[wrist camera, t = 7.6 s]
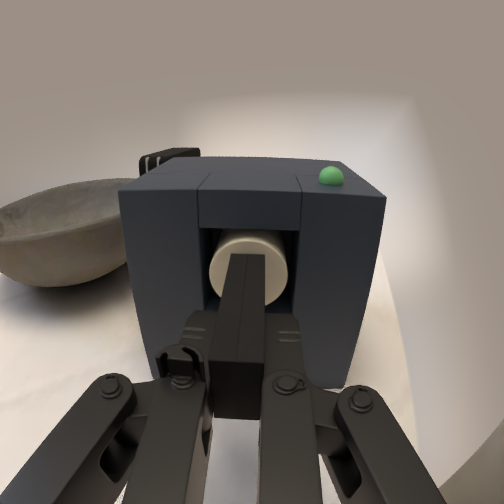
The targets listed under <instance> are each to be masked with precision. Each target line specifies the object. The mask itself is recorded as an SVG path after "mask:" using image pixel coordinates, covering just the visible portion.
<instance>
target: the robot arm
mask: <svg viewBox="0 0 504 504" xmlns="http://www.w3.org/2000/svg"><path fill="white" fill-rule="evenodd" d="M155 359H156V363H157V367H158V371H159V375H160V378H159V379H156V380H154V381H149V382H142V383H134V384H132V383H131V381H130V380H129V378H127V377H126V376H124V375H122V374H117V373H111V374H105V375H103V376H100V377H99V378H97V379H96V380H95V381H94V382H93V383H92V384H91V385H90V386H89V387H88V389H87V390H86V391H85V392H84V393H83V395H82V396H81V397H80V398H79V399H78V400H77V402H76V403H75V404H74V405H73V406H72V407H71V409H70V410H69V411H68V412H67V413H66V415H65V416H64V417H63V418H62V419H61V421H60V422H59V423H58V424H57V425H56V427H55V428H54V429H53V430H52V431H51V433H50V434H49V435H48V436H47V437H46V439H45V440H44V441H43V442H42V444H41V445H40V446H39V447H38V448H37V450H36V451H35V452H34V453H33V455H32V456H31V457H30V458H29V460H28V461H27V462H26V463H25V465H24V466H23V467H22V468H21V470H20V471H19V472H18V473H17V475H16V476H15V477H14V478H13V480H12V481H11V482H10V483H9V485H8V486H7V487H6V489H5V490H4V491H3V492H2V494H1V495H0V504H114V503H115V501H116V499H117V498H118V496H119V495H120V493H121V491H122V490H123V488H124V487H125V485H126V483H127V482H128V483H127V486H126V490H125V493H124V497H123V501H122V504H203V498H204V491H205V483H206V476H207V469H208V462H209V455H210V448H211V441H212V434H213V430H212V418H213V412H214V418H226V419H242V420H260V428H259V442H258V446H259V450H258V477H257V502H256V504H323V500H322V488H321V477H320V467H319V456H318V454H321V456H322V458H323V461H324V463H325V466H326V468H327V470H328V473H329V475H330V478H331V480H332V482H333V485H334V487H335V490H336V492H337V494H338V497H339V499H340V501H341V504H447V503H446V502H445V500H444V498H443V497H442V495H441V493H440V491H439V490H438V488H437V487H436V485H435V483H434V481H433V480H432V478H431V476H430V475H429V473H428V471H427V470H426V468H425V466H424V465H423V463H422V461H421V460H420V458H419V456H418V455H417V453H416V451H415V450H414V448H413V446H412V445H411V443H410V442H409V440H408V438H407V437H406V435H405V433H404V432H403V430H402V429H401V427H400V425H399V424H398V422H397V421H396V419H395V417H394V416H393V414H392V413H391V411H390V409H389V408H388V406H387V405H386V403H385V401H384V400H383V398H382V397H381V396H380V395H379V393H378V392H377V391H375V390H374V389H372V388H370V387H367V386H362V385H355V386H350V387H348V388H345V389H344V390H343V391H342V392H341V393H335V392H330V391H326V390H323V389H320V388H318V387H316V386H315V385H313V384H312V383H311V382H310V381H309V380H308V378H307V377H306V374H305V369H304V361H303V353H302V345H301V337H300V329H299V322H298V321H297V319H296V318H295V317H294V316H293V314H292V313H265V254H237V253H231V255H230V260H229V264H228V269H227V273H226V278H225V282H224V287H223V291H222V296H221V300H220V305H219V310H218V312H215V311H198V310H195V311H194V312H193V313H192V314H191V315H190V316H189V317H188V318H187V320H186V323H185V326H184V330H183V332H182V335H181V338H180V341H179V344H173V345H170V346H167V347H165V348H163V349H162V350H160V351H159V352H158V354H157V355H156V357H155Z"/></svg>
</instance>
